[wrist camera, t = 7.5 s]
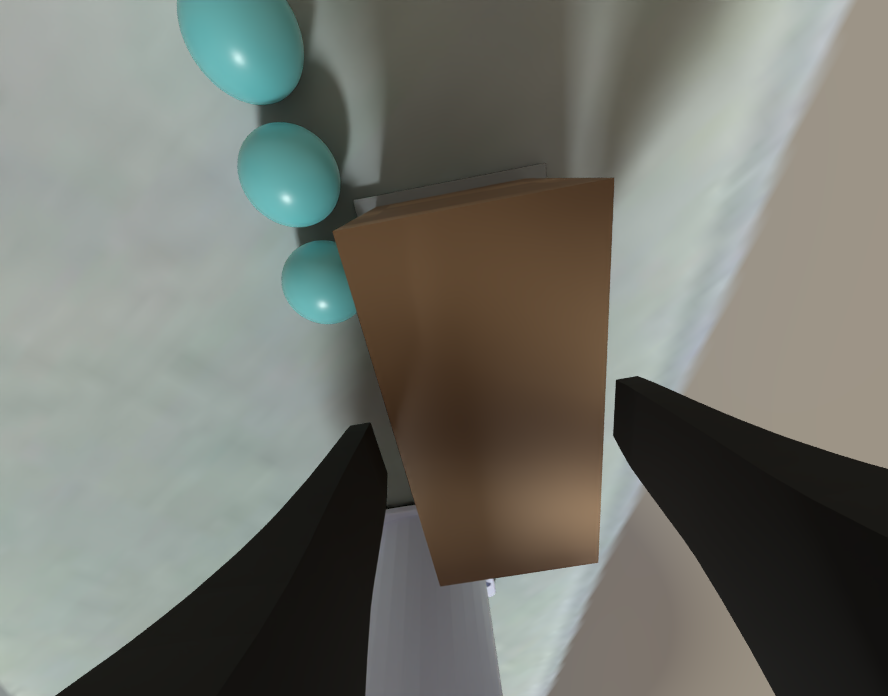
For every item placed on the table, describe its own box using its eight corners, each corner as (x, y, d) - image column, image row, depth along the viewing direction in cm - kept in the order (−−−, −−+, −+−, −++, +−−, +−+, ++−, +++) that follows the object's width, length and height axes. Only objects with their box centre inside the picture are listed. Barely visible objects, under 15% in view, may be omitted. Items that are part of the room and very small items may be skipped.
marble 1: (358, 214, 13) (341, 223, 10) (281, 228, 13) (244, 241, 10) (334, 120, 12) (306, 103, 9) (248, 138, 12) (196, 126, 9)
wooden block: (541, 436, 18) (598, 562, 12) (435, 453, 18) (440, 586, 12) (525, 178, 12) (614, 177, 7) (375, 207, 13) (332, 231, 7)
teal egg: (329, 103, 12) (299, 80, 9) (242, 121, 12) (186, 103, 9) (296, -19, 10) (250, -89, 7) (199, 3, 10) (118, -60, 8)
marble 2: (381, 301, 15) (372, 329, 12) (312, 313, 15) (287, 344, 12) (362, 227, 13) (346, 240, 11) (286, 242, 13) (251, 258, 11)
